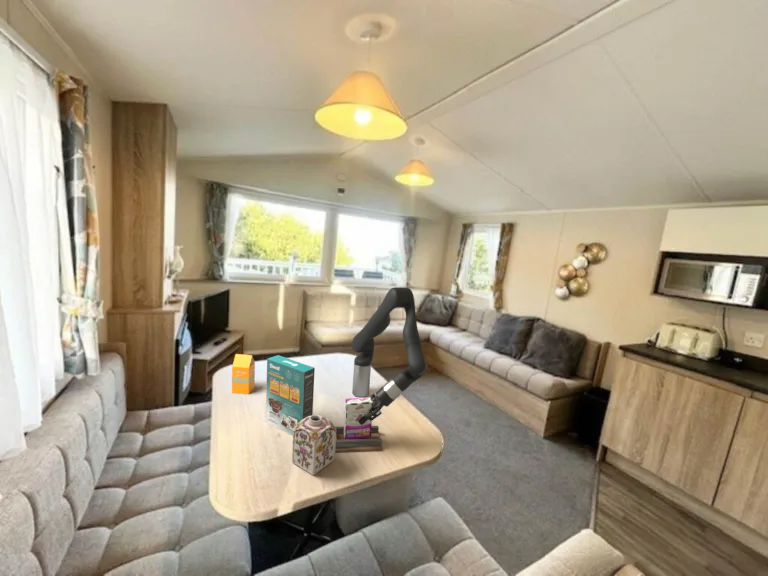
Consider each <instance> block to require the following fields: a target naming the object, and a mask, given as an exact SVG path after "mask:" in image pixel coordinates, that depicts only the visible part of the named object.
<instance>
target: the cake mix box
mask: <svg viewBox="0 0 768 576" xmlns="http://www.w3.org/2000/svg"><path fill="white" fill-rule="evenodd" d="M266 359H267V360H266V395H265V396H266V397H265V399H266V400H265V424H267V425H270V426H272V427H274V428H276V429H277V430H280V431H282V432H284V433H286V434H288V435H290V436H292V437H293V431H294V429H295V428H296V426H297V425H298V424H299V423H300V421H301V420H303V419H304V418H306V417H308V416H312V415H314V414H313V413H314V393H315V392H314V391H315V390H314V389H315V371H316V370H315V367H314V366H310V365H308V364H305V363H301V362H300V361H299V362H298V361H296V360H294V359H291V358H287V357H286V356H281V355H279V354H278V355H274V356H272V357H269V358H266Z"/></svg>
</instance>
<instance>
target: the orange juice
mask: <svg viewBox="0 0 768 576" xmlns="http://www.w3.org/2000/svg"><path fill="white" fill-rule="evenodd" d="M255 366H256V362H255V359H254V357H253V355H252V354H243V353H235V355H234V358H233V364H232V366H231V394H241V395H250V394H251V392H253V391H254V389H255V376H256V371H255V368H256V367H255Z"/></svg>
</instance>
